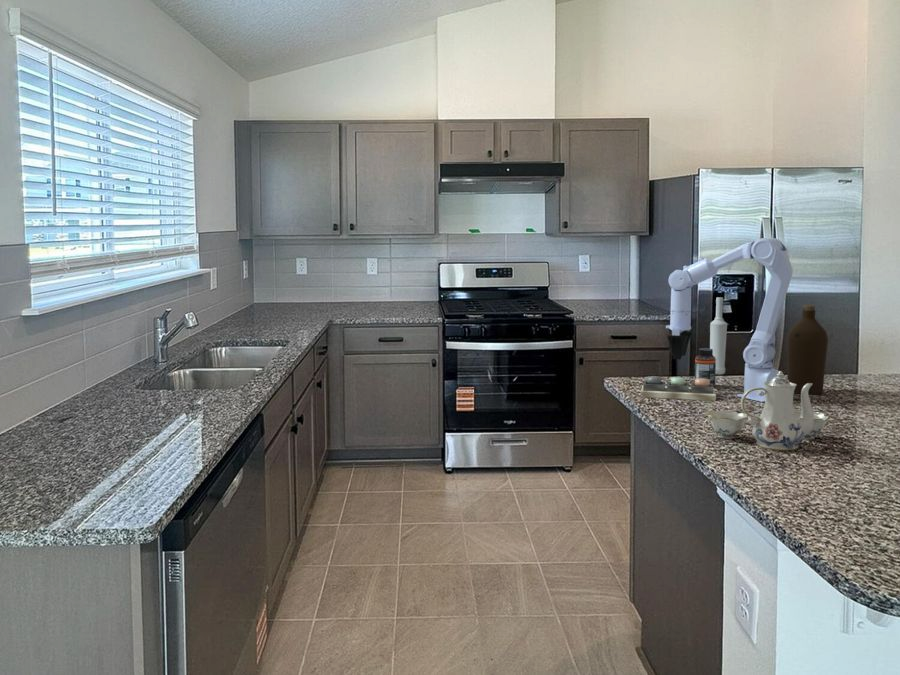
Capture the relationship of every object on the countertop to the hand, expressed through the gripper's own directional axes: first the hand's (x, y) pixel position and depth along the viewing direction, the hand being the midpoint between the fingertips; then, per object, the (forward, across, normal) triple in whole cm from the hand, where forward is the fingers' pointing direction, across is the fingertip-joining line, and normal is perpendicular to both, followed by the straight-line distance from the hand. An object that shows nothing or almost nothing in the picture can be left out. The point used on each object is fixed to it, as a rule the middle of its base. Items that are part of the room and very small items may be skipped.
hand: (679, 357), depth 227 cm
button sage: (+7, +10, +1) cm, 12 cm away
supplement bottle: (+10, -8, +6) cm, 14 cm away
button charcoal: (+7, +11, -5) cm, 14 cm away
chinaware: (+10, +52, +29) cm, 61 cm away
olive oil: (+10, -11, +34) cm, 37 cm away
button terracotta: (+7, +9, +8) cm, 13 cm away
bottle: (+10, -33, +7) cm, 35 cm away
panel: (+10, +10, +1) cm, 14 cm away
